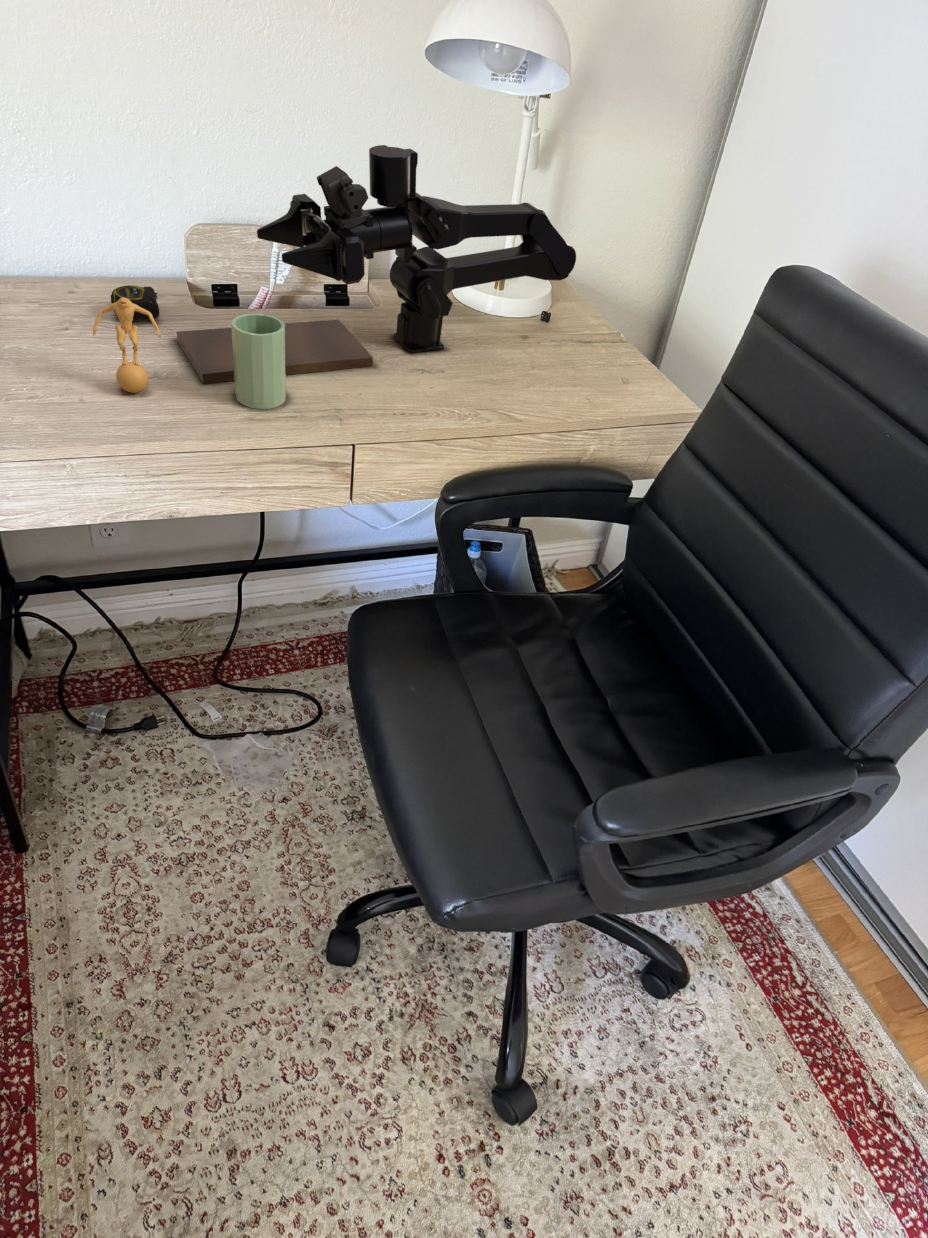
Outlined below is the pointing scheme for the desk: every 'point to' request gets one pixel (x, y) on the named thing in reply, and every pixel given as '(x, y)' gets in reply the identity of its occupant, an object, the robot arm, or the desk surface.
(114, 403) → the desk surface
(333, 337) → the walnut board
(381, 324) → the desk surface
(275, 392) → the pencil cup
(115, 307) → the figurine
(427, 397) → the desk surface
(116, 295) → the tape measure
